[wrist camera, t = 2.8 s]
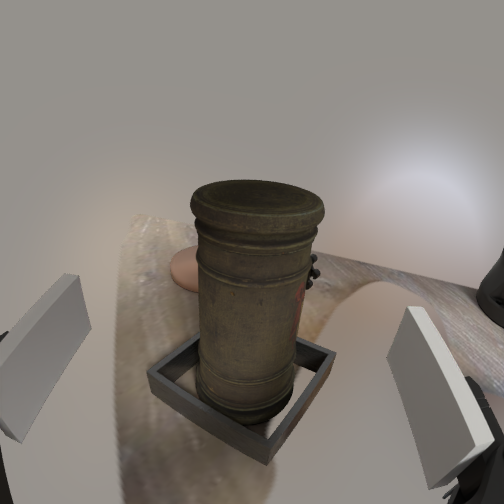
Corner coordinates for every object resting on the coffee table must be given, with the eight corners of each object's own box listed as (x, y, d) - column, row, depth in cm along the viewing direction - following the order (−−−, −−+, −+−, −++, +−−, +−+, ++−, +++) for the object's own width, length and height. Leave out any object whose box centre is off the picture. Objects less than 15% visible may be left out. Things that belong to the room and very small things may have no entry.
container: (230, 442, 22) (239, 230, 14) (179, 373, 28) (165, 185, 21) (312, 396, 27) (359, 206, 19) (255, 343, 33) (270, 173, 25)
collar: (230, 328, 35) (230, 307, 34) (329, 373, 30) (336, 352, 28) (151, 392, 26) (146, 371, 25) (266, 465, 20) (271, 449, 19)
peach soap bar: (206, 246, 54) (206, 238, 53) (267, 268, 48) (268, 259, 48) (154, 273, 45) (153, 264, 44) (218, 304, 39) (218, 294, 39)
